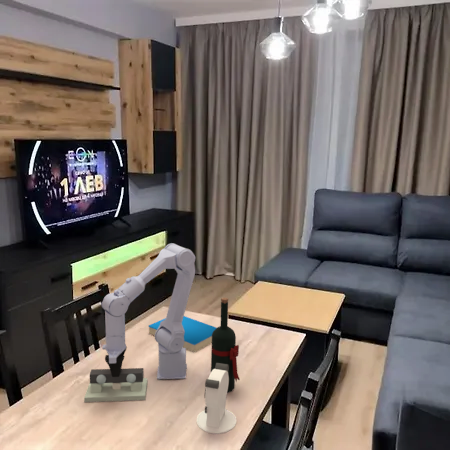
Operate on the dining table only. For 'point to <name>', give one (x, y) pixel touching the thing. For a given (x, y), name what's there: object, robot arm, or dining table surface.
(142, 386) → the stand
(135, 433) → the dining table surface
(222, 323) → the wine bottle
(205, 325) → the book
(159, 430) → the dining table surface
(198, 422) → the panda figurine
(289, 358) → the dining table surface
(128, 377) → the bar
